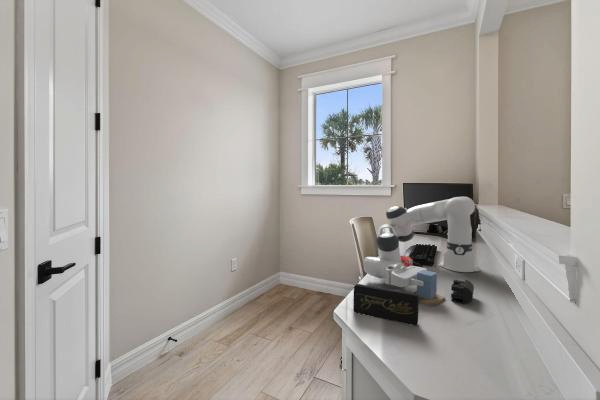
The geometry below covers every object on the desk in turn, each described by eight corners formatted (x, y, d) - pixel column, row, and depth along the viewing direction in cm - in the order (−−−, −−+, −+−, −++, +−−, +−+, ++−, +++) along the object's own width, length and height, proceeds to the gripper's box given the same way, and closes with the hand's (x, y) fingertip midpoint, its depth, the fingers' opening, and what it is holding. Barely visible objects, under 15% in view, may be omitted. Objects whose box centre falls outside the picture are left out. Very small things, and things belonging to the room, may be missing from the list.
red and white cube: (412, 275, 137) (412, 259, 136) (396, 275, 137) (396, 259, 137) (407, 270, 144) (407, 255, 144) (392, 270, 145) (392, 255, 145)
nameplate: (353, 312, 96) (353, 285, 96) (354, 310, 98) (355, 283, 97) (417, 326, 87) (418, 295, 86) (418, 323, 89) (418, 293, 88)
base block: (408, 298, 108) (408, 278, 108) (419, 291, 115) (420, 273, 115) (434, 306, 101) (434, 285, 101) (444, 299, 108) (445, 279, 107)
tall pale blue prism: (416, 296, 108) (417, 272, 108) (422, 292, 112) (423, 269, 111) (430, 300, 104) (431, 275, 104) (436, 296, 108) (437, 272, 107)
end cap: (472, 306, 102) (473, 288, 101) (450, 301, 106) (451, 284, 105) (473, 297, 110) (474, 280, 109) (453, 293, 114) (454, 277, 113)
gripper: (408, 274, 124) (439, 282, 114) (383, 285, 111) (417, 295, 100) (408, 260, 124) (440, 267, 114) (384, 269, 110) (417, 278, 100)
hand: (429, 280), depth 107 cm, fingers open, 8 cm apart
